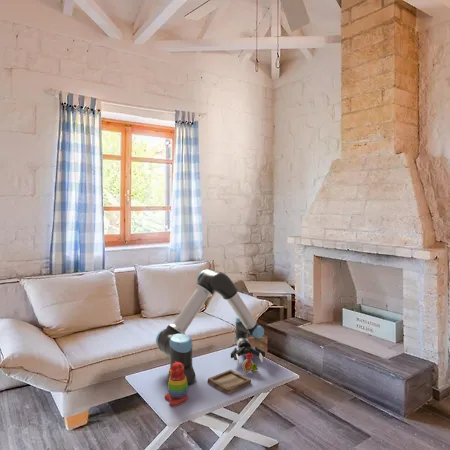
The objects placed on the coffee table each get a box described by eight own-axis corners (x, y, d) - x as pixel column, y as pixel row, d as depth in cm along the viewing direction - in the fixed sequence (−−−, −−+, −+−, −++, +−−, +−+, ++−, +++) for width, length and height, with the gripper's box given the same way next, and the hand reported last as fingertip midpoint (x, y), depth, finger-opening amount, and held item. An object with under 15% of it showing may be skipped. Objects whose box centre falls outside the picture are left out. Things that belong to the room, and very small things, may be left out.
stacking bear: (163, 396, 176) (163, 360, 175) (183, 391, 181) (182, 356, 180) (171, 407, 167) (170, 369, 166) (191, 401, 171) (191, 365, 170)
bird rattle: (250, 379, 198) (261, 368, 203) (244, 363, 195) (255, 352, 200) (242, 375, 203) (253, 364, 208) (236, 359, 199) (247, 349, 205)
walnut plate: (207, 382, 190) (207, 378, 190) (230, 373, 200) (230, 369, 200) (228, 394, 178) (228, 390, 178) (251, 383, 188) (251, 379, 188)
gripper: (264, 351, 224) (272, 366, 203) (223, 353, 222) (228, 368, 201) (264, 339, 224) (272, 352, 203) (223, 341, 221) (228, 355, 200)
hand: (250, 360), depth 202 cm, fingers open, 13 cm apart
